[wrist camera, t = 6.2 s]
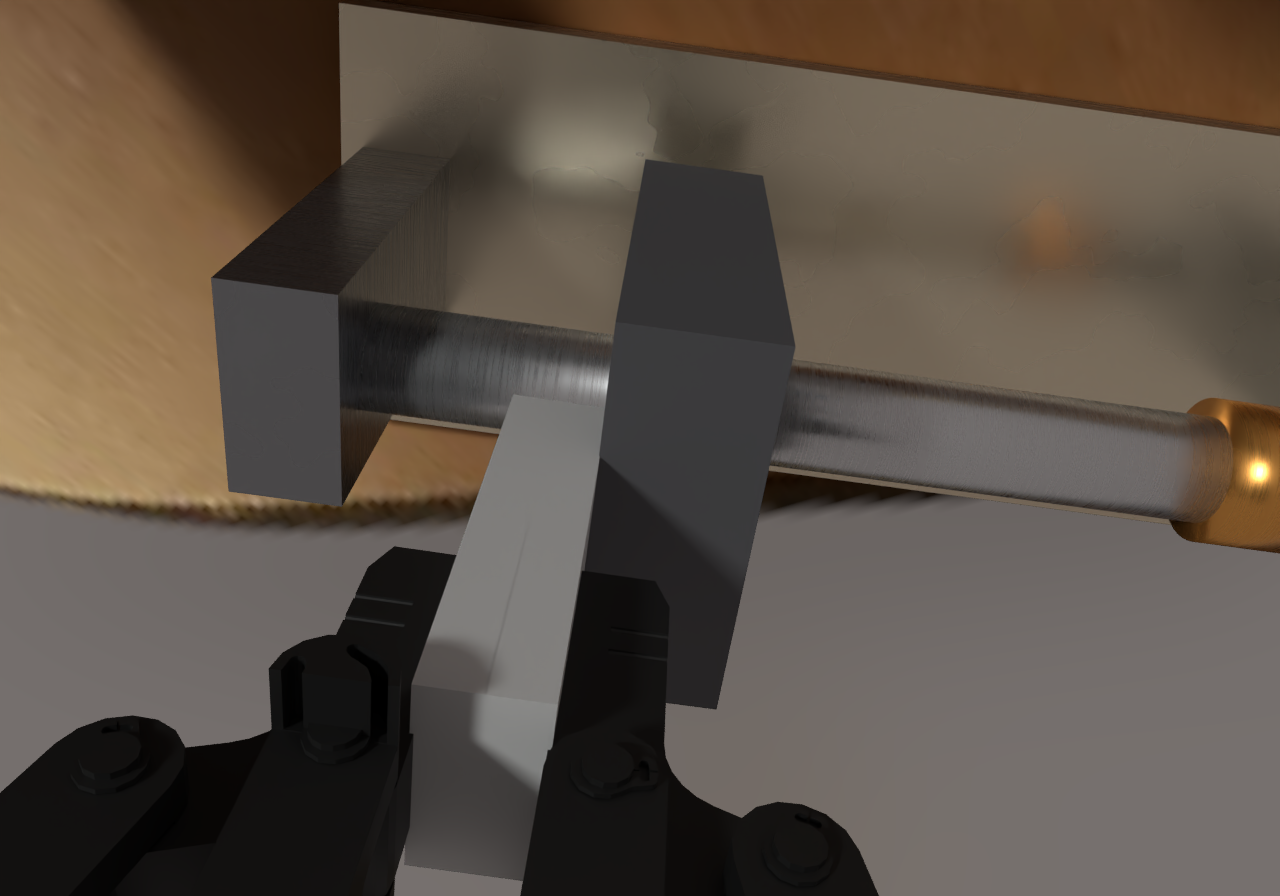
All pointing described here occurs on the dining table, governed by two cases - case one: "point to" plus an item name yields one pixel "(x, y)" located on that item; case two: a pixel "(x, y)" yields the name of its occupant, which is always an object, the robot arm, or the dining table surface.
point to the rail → (810, 265)
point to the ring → (692, 408)
